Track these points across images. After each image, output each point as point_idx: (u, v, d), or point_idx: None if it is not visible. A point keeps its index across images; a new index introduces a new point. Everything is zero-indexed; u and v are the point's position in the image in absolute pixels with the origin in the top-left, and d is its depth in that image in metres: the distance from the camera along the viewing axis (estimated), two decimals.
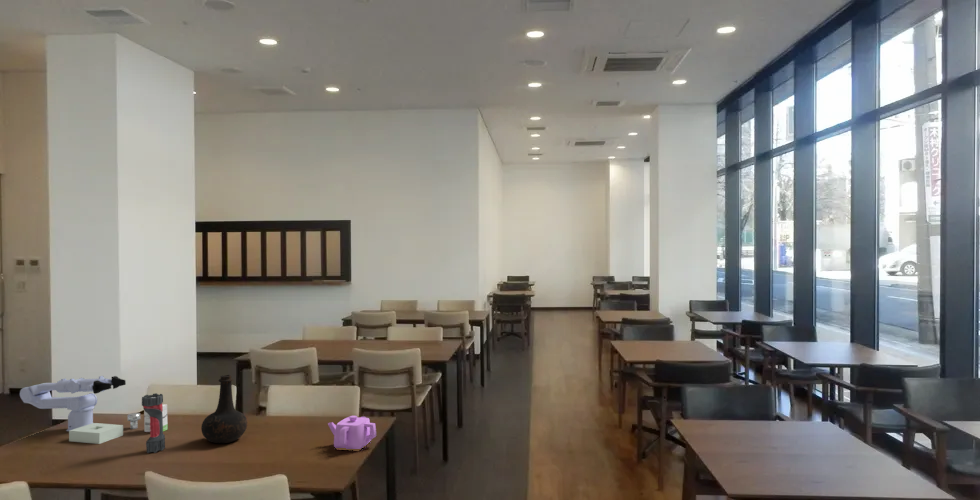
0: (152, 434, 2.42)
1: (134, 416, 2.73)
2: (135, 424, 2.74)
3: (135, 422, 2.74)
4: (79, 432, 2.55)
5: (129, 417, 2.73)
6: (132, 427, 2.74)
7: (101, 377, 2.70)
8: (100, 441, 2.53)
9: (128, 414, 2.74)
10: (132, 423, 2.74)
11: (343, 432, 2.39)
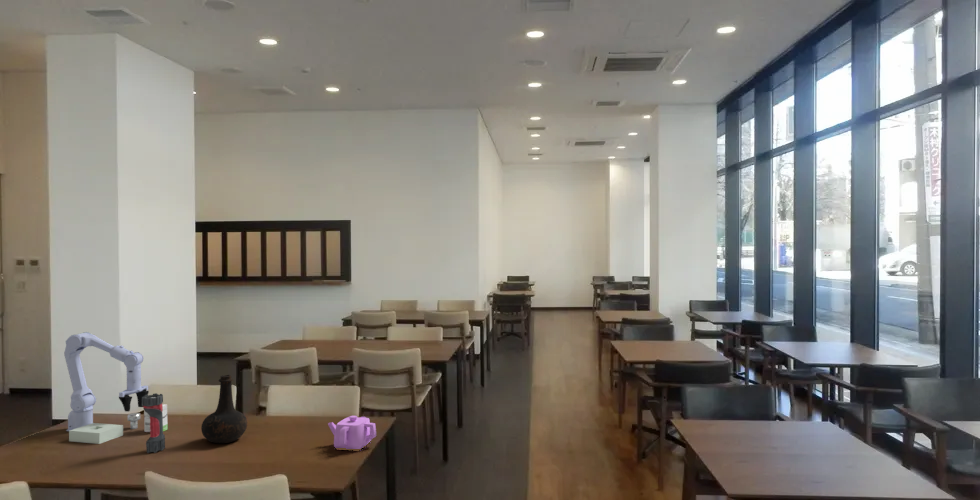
0: (152, 434, 2.42)
1: (134, 416, 2.73)
2: (135, 424, 2.74)
3: (135, 422, 2.74)
4: (79, 432, 2.55)
5: (129, 417, 2.73)
6: (132, 427, 2.74)
7: (139, 391, 2.74)
8: (100, 441, 2.53)
9: (128, 414, 2.74)
10: (132, 423, 2.74)
11: (343, 432, 2.39)
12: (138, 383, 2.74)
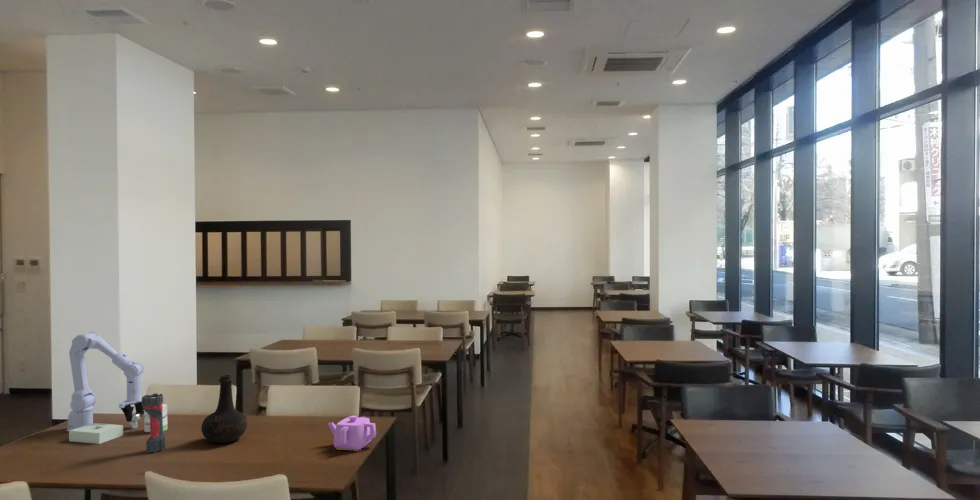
0: (152, 434, 2.42)
1: (134, 416, 2.73)
2: (135, 424, 2.74)
3: (135, 422, 2.74)
4: (79, 432, 2.55)
5: None
6: (132, 427, 2.74)
7: (139, 401, 2.74)
8: (100, 441, 2.53)
9: None
10: (132, 423, 2.74)
11: (343, 432, 2.39)
12: (138, 394, 2.74)
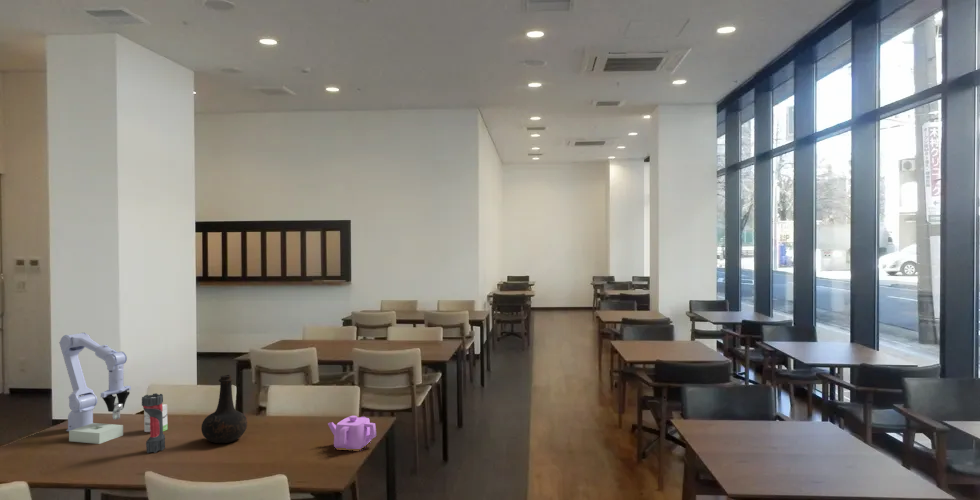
0: (152, 434, 2.42)
1: (116, 406, 2.66)
2: (117, 414, 2.67)
3: (117, 412, 2.67)
4: (79, 432, 2.55)
5: None
6: (114, 417, 2.67)
7: None
8: (100, 441, 2.53)
9: None
10: (114, 413, 2.67)
11: (343, 432, 2.39)
12: (120, 383, 2.67)
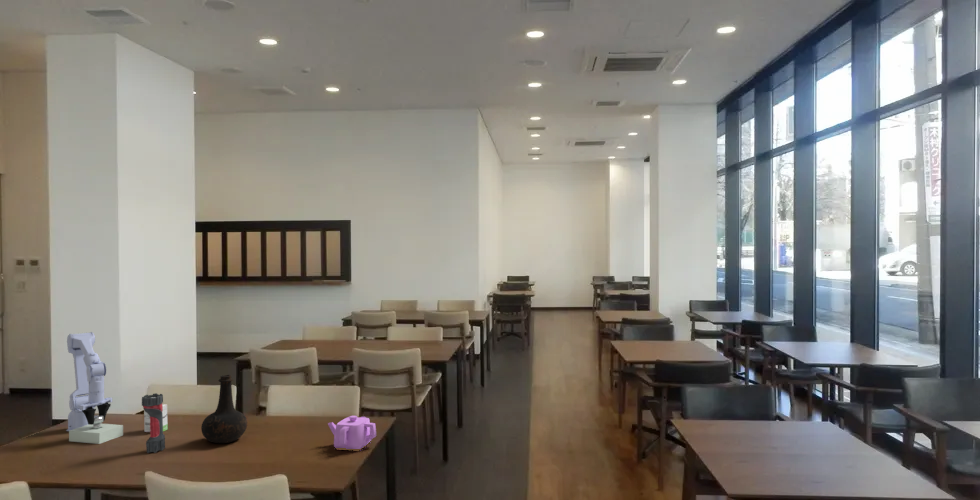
0: (152, 434, 2.42)
1: (96, 419, 2.58)
2: (98, 427, 2.60)
3: (98, 425, 2.60)
4: (79, 432, 2.55)
5: None
6: None
7: (102, 403, 2.59)
8: (100, 441, 2.53)
9: None
10: (94, 426, 2.59)
11: (343, 432, 2.39)
12: (101, 395, 2.59)
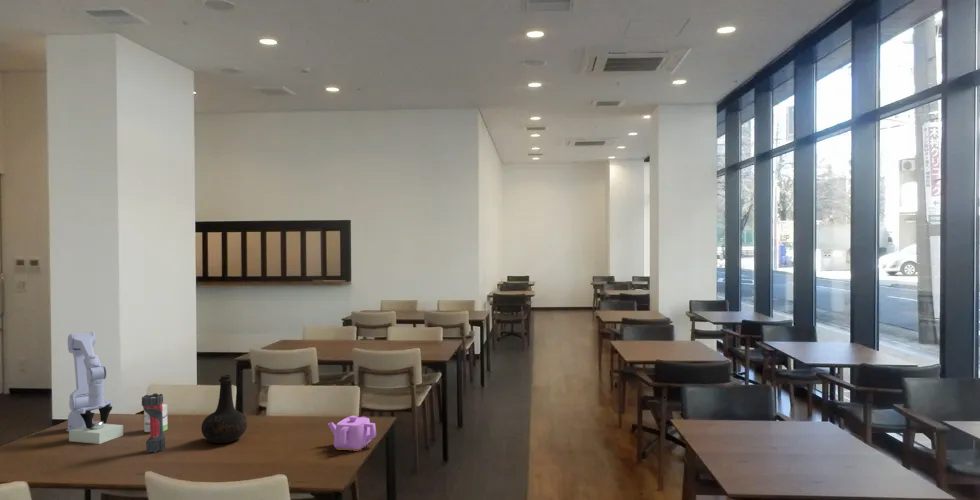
0: (152, 434, 2.42)
1: (96, 424, 2.58)
2: None
3: None
4: (79, 432, 2.55)
5: None
6: None
7: (102, 406, 2.59)
8: (100, 441, 2.53)
9: None
10: None
11: (343, 432, 2.39)
12: (101, 398, 2.59)
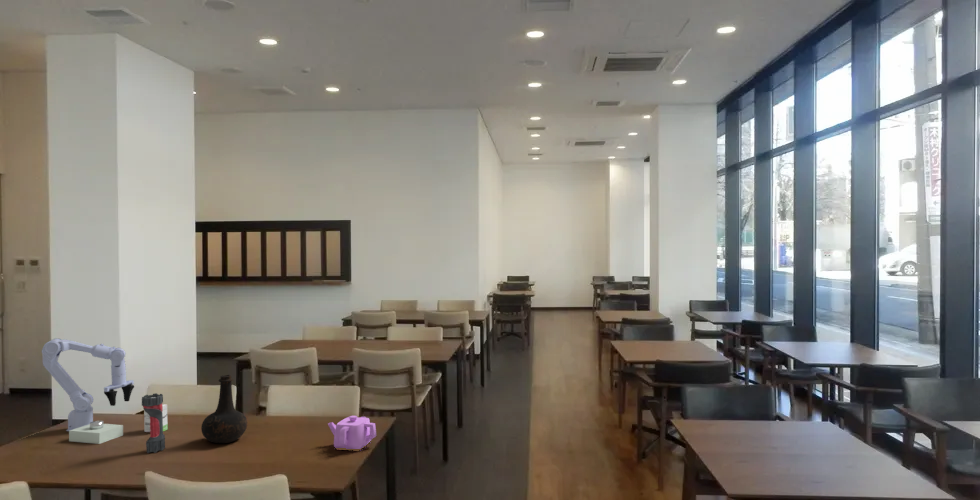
0: (152, 434, 2.42)
1: (96, 424, 2.58)
2: None
3: None
4: (79, 432, 2.55)
5: (91, 425, 2.58)
6: None
7: (124, 385, 2.78)
8: (100, 441, 2.53)
9: (90, 422, 2.60)
10: None
11: (343, 432, 2.39)
12: (123, 378, 2.78)
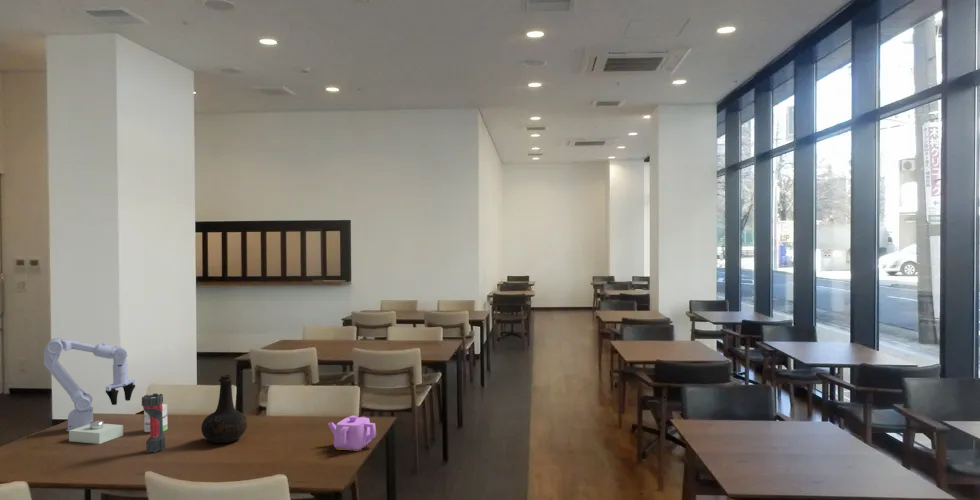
0: (152, 434, 2.42)
1: (96, 424, 2.58)
2: None
3: None
4: (79, 432, 2.55)
5: (91, 425, 2.58)
6: None
7: (126, 384, 2.80)
8: (100, 441, 2.53)
9: (90, 422, 2.60)
10: None
11: (343, 432, 2.39)
12: (124, 377, 2.80)
